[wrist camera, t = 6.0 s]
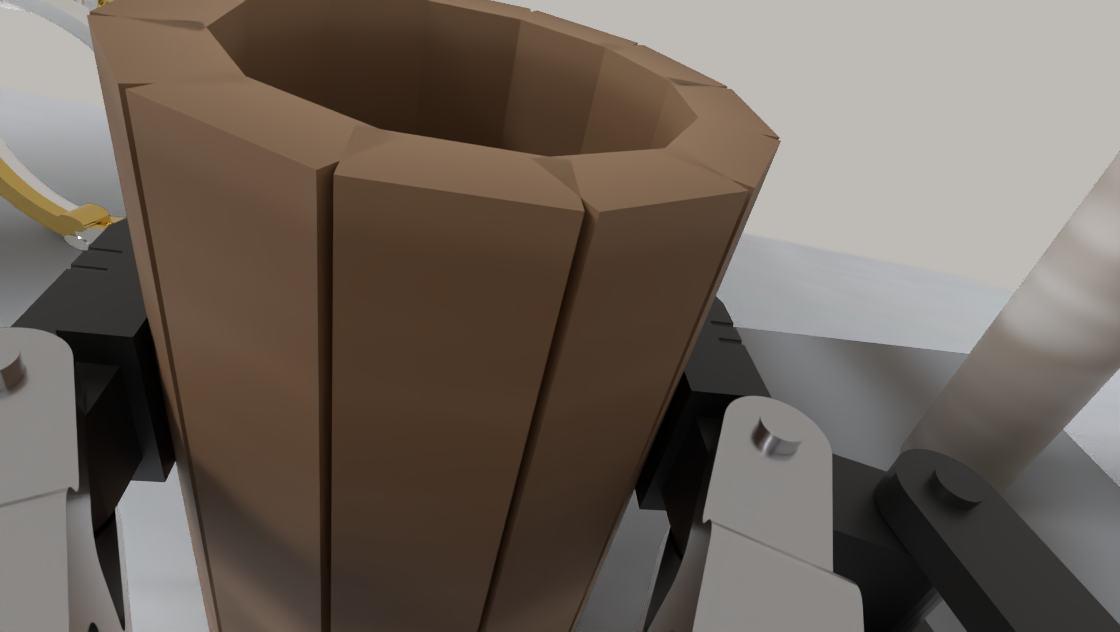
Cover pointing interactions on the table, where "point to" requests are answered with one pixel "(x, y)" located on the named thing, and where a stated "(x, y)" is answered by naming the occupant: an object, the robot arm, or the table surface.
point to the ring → (8, 177)
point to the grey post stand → (991, 395)
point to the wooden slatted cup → (415, 292)
